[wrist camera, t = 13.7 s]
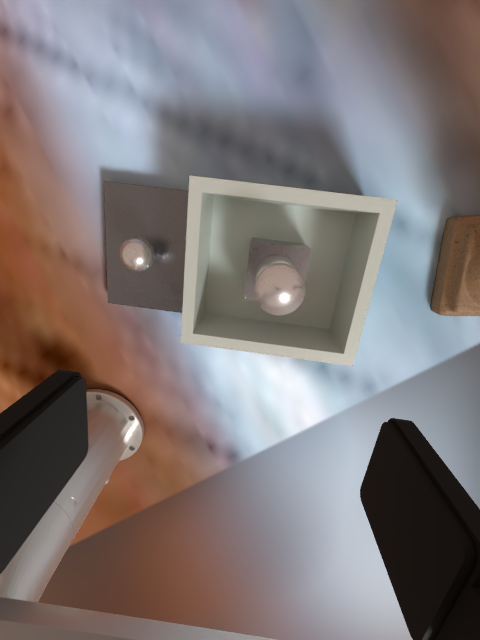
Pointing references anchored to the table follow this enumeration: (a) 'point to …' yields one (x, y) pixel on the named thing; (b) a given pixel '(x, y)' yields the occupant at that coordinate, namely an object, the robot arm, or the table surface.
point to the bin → (321, 279)
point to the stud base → (155, 229)
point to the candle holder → (458, 269)
